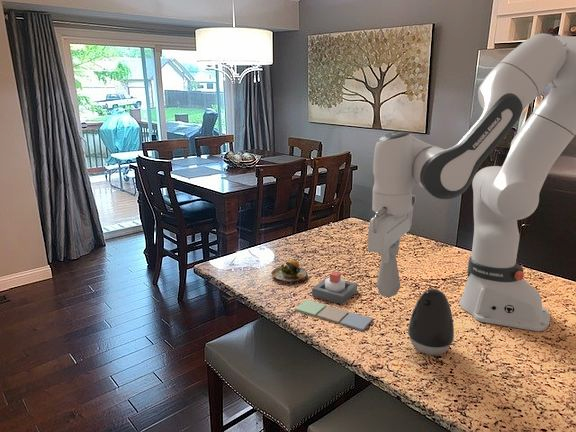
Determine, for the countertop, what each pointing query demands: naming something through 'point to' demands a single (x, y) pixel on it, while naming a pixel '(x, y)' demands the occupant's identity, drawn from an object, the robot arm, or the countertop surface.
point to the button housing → (332, 296)
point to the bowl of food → (290, 272)
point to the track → (334, 315)
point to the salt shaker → (389, 275)
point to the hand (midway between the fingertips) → (389, 258)
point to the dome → (335, 282)
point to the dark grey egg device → (431, 323)
